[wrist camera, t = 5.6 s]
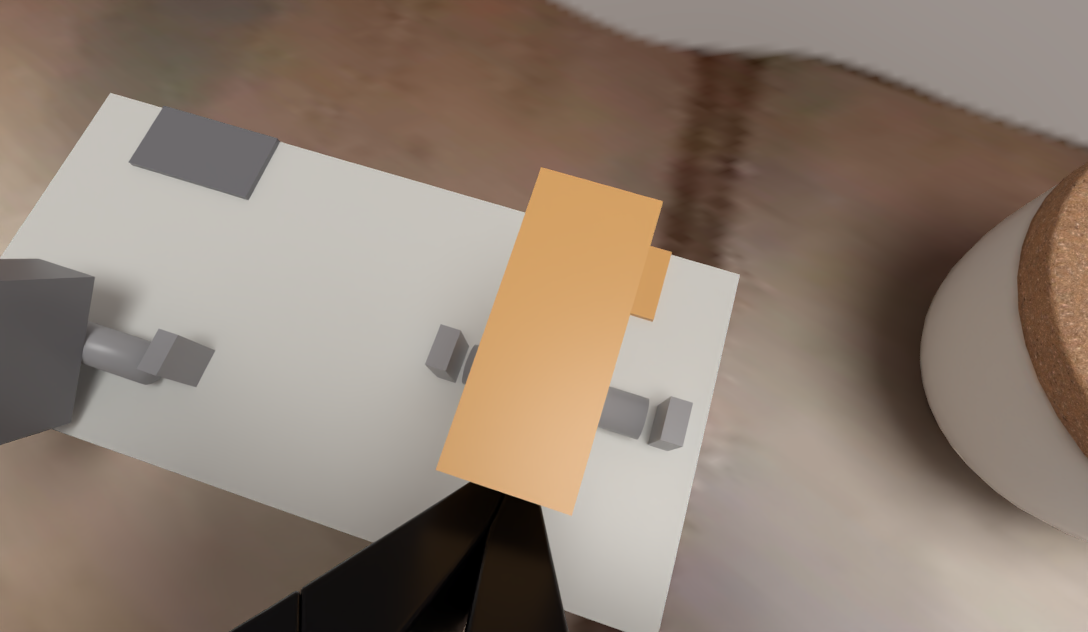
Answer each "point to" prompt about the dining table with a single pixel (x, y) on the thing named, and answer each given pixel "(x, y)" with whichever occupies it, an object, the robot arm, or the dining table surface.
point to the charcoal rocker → (52, 345)
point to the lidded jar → (1019, 357)
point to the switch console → (351, 340)
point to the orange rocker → (554, 345)
